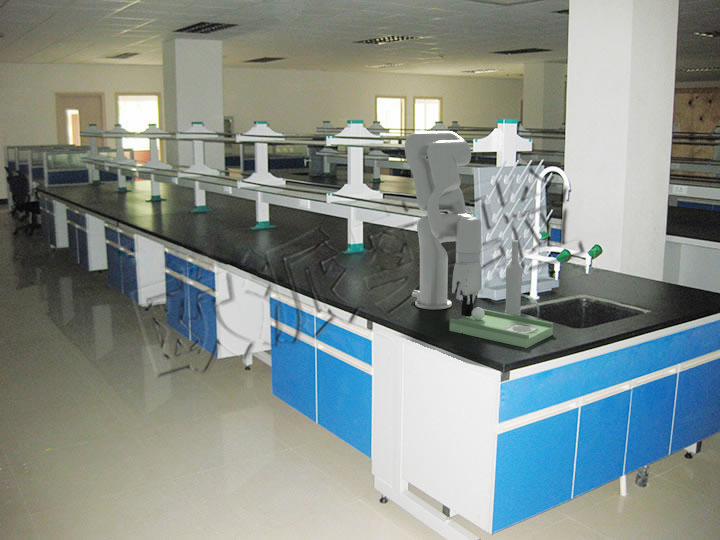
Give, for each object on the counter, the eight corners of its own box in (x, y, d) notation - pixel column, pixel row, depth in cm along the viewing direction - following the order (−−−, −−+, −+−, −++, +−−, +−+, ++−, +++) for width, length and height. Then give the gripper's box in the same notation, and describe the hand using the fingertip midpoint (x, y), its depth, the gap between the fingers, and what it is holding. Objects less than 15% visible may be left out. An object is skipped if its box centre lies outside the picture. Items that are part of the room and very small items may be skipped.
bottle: (518, 314, 228) (521, 239, 223) (522, 318, 223) (525, 242, 218) (502, 314, 228) (505, 239, 223) (506, 318, 223) (509, 242, 218)
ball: (468, 320, 213) (469, 307, 212) (475, 317, 216) (476, 305, 215) (480, 322, 211) (480, 309, 210) (486, 319, 213) (487, 307, 213)
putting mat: (449, 330, 211) (449, 318, 210) (477, 319, 223) (477, 308, 222) (526, 348, 194) (527, 335, 194) (552, 334, 206) (553, 322, 205)
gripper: (471, 252, 220) (470, 308, 223) (444, 259, 209) (443, 318, 213) (491, 255, 215) (490, 312, 218) (465, 262, 204) (463, 322, 208)
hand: (467, 315), depth 215 cm, fingers closed
